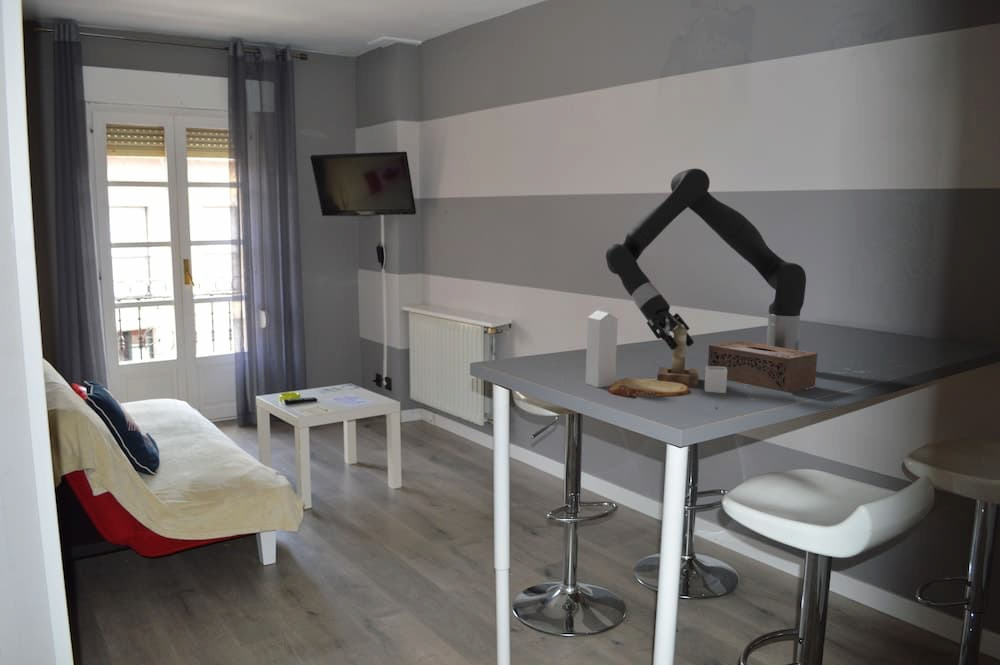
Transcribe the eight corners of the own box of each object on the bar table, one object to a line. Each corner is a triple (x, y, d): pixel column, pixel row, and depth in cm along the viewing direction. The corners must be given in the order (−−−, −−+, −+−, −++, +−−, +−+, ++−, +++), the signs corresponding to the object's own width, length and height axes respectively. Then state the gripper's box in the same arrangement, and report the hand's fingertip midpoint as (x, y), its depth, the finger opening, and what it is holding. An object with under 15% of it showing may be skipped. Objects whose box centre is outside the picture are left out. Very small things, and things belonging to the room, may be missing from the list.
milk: (597, 388, 218) (600, 308, 214) (585, 383, 223) (587, 305, 220) (615, 385, 221) (618, 307, 217) (602, 381, 226) (605, 304, 223)
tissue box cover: (707, 378, 234) (709, 345, 232) (736, 373, 243) (738, 340, 241) (786, 395, 214) (788, 358, 213) (814, 388, 223) (817, 353, 222)
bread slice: (696, 395, 213) (697, 381, 212) (657, 405, 201) (657, 391, 200) (641, 383, 226) (642, 371, 225) (601, 393, 213) (602, 379, 213)
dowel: (683, 381, 226) (686, 328, 224) (683, 383, 223) (686, 330, 221) (671, 380, 227) (674, 328, 225) (670, 382, 224) (673, 329, 221)
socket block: (697, 380, 229) (697, 368, 228) (697, 389, 218) (698, 376, 218) (658, 378, 232) (659, 366, 231) (657, 386, 221) (657, 374, 220)
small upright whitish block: (725, 390, 217) (726, 366, 216) (725, 395, 212) (727, 370, 211) (704, 389, 218) (705, 365, 217) (704, 393, 213) (705, 369, 212)
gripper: (644, 295, 221) (679, 340, 215) (672, 291, 231) (705, 335, 225) (628, 312, 225) (661, 357, 219) (655, 308, 236) (687, 351, 230)
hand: (683, 346), depth 222 cm, fingers open, 8 cm apart
